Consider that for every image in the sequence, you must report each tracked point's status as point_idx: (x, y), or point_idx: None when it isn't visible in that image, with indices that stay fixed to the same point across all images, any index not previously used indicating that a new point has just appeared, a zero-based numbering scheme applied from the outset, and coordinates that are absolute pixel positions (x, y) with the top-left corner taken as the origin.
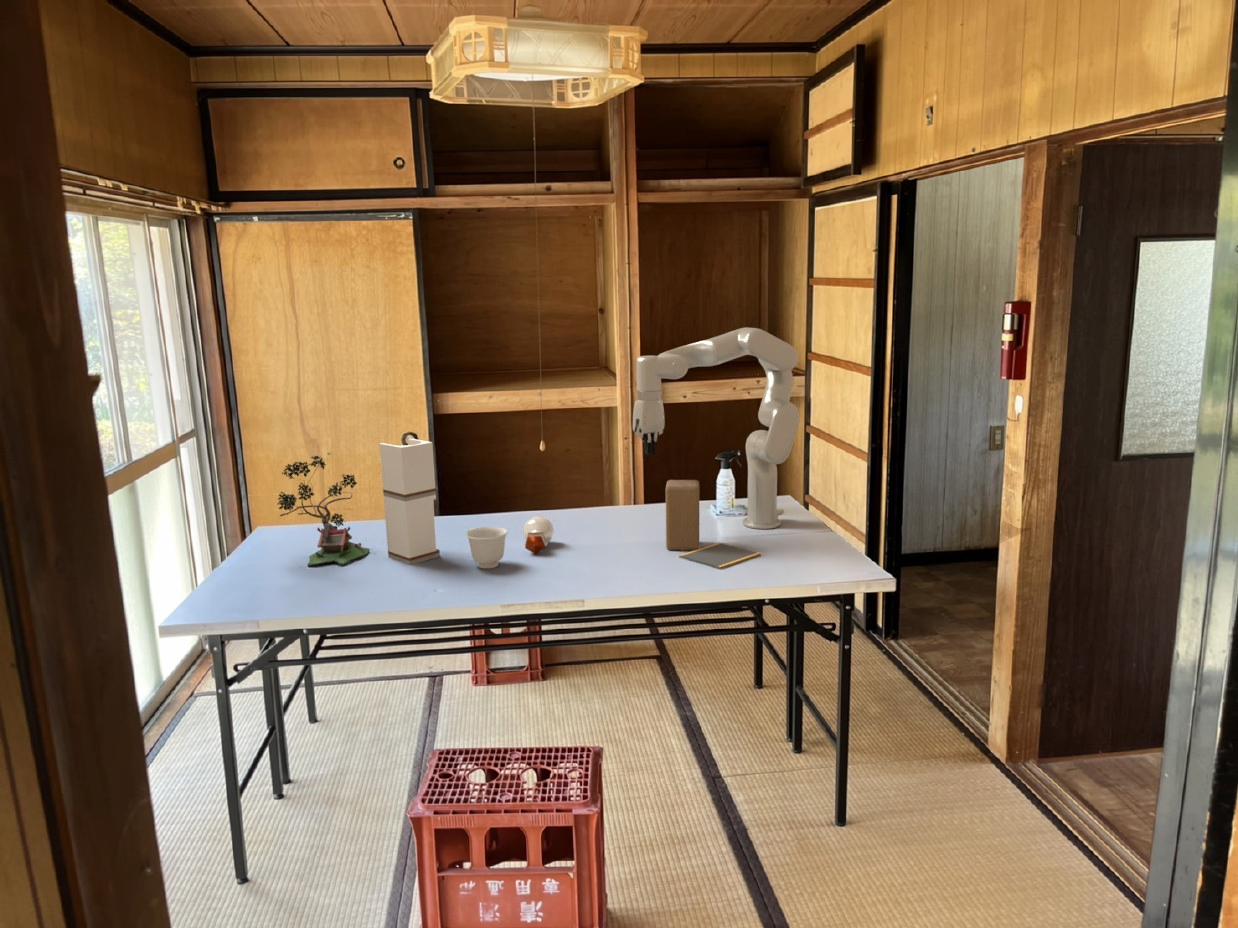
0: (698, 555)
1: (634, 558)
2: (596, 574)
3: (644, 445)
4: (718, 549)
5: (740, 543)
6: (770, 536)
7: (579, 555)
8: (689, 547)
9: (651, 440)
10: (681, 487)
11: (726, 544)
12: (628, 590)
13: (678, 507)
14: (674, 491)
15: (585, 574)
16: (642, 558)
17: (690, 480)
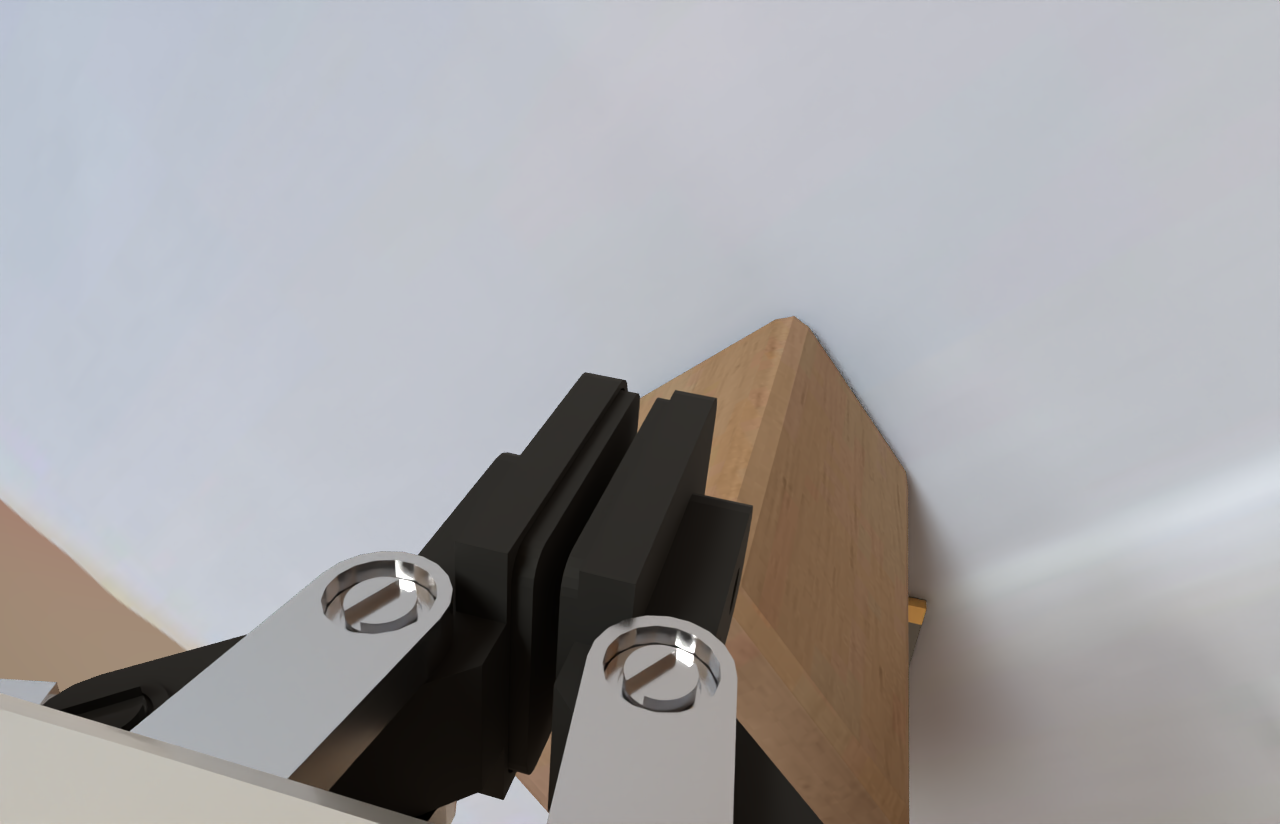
0: None
1: (396, 332)
2: (111, 325)
3: (437, 531)
4: None
5: (1017, 685)
6: (1274, 780)
7: (189, 4)
8: None
9: (552, 774)
10: (541, 804)
11: (910, 652)
12: (125, 547)
13: None
14: None
15: (70, 280)
16: (427, 369)
17: (813, 807)
